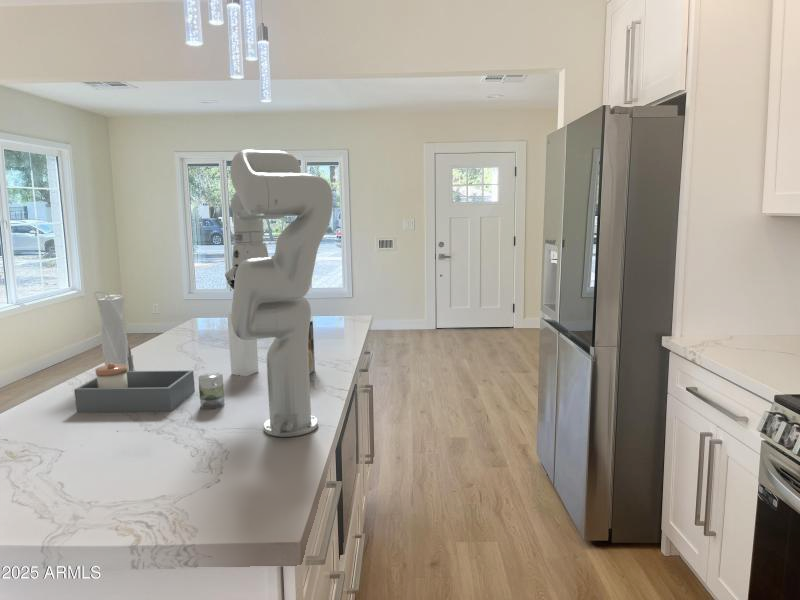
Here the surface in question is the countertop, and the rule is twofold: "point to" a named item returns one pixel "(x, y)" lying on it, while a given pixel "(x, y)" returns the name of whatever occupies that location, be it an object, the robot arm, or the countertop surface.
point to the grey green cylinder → (211, 390)
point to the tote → (138, 393)
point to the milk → (242, 353)
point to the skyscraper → (114, 331)
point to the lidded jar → (112, 376)
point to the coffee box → (311, 349)
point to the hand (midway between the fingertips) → (252, 301)
